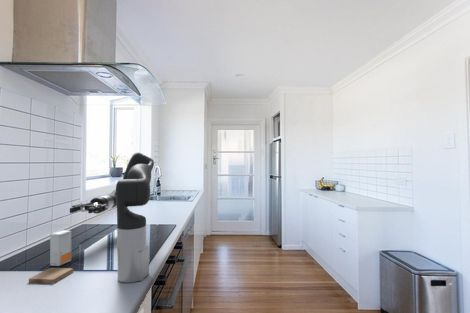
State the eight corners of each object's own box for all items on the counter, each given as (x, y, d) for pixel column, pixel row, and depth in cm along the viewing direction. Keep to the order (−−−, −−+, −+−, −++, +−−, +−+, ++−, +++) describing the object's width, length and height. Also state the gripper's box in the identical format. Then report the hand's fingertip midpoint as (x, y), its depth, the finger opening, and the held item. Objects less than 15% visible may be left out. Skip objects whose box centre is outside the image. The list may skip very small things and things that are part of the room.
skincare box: (59, 266, 104) (59, 234, 104) (49, 265, 105) (49, 234, 105) (72, 260, 110) (71, 230, 110) (62, 259, 111) (62, 230, 111)
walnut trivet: (73, 271, 99) (73, 268, 99) (54, 283, 90) (54, 279, 90) (49, 271, 100) (49, 267, 100) (28, 282, 91) (28, 278, 91)
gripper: (88, 196, 136) (64, 201, 119) (115, 196, 134) (95, 202, 118) (88, 211, 136) (64, 219, 119) (115, 211, 134) (95, 219, 118)
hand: (79, 210), depth 119 cm, fingers open, 8 cm apart
